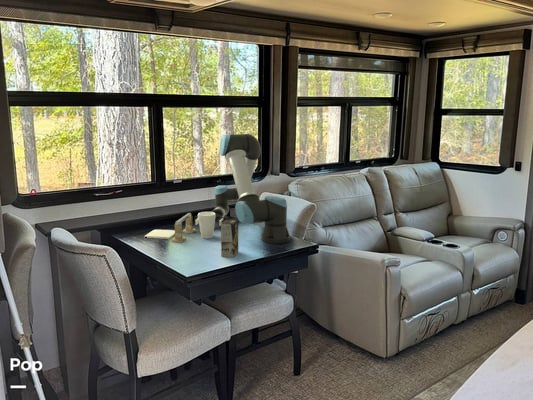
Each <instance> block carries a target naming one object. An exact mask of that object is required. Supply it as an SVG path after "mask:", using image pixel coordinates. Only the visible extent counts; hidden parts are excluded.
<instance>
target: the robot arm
mask: <svg viewBox="0 0 533 400" xmlns="http://www.w3.org/2000/svg"><path fill="white" fill-rule="evenodd" d="M261 151H262V150H261V144H260V142H259V140H258V138H257V137H255V136H254V135H253V134H249V133H239V134H237V133H236V134H235V133H234V134H231V133H228V134H222V136H221V137H220V141H219V155H220V156H222V157H224V158H225V160H226V161H227V162H229V165H230V169H231V173H232V176H233V180H234V183H235V188H232V187H230V188H228V186H227V185H223V184H222V185H217V186H215V190H214V191H215V192H214V196H215V203H214V204H215V208H214V209H213V210H211V212H214V213H215V214H216V218H215V223H218V222H219V223H218V224H219V225H218V226H219V227H221V223H223V222H224V221H225V220H230V218H229V216H227V215H228V214H229V212H230V207H229V206H228V203H229V201H231V202H232V201H237V202H236V203H235V206H234V208H235V214H236V217H237V220H238V222H240V223H241V224H243V225H251V224H258V223H264V227H263V230H262V233H261V241H262V242H264V243H268V244H284V243H288V242H289V241H290V240H291V238H290V237H291V235H290V233H289V230H288V227H287V225H288V223H287V222H288V221H287V219H288V218H287V217H288V215H287V214H288V213H287V212H288V202H287V200H286V199H285V198H284V197H279V196H272V195H268V196H267V195H266V196H264V199H260V196H259V194H257V193H256V192H255V190H254V186H253V182H252V178H253V174H254V171H255V167H256V164H257V160H259V158H260V157H261ZM193 219H194V223H195V224H194V225H195V226H197V225H199V219H198V215H197V216H196V215H195V216H194V217H193Z"/></svg>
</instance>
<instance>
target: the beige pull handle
mask: <svg viewBox="0 0 533 400" xmlns="http://www.w3.org/2000/svg"><path fill="white" fill-rule="evenodd" d="M174 230H175V235H174V236H173V237H172V238H171V242H174V243H175V242H177V243H183V242H185V241H186V239H187V238H186V236H185V237H183V233H184V234H194V233H195V232H196V228H193V215H191V216H190V217H189V218H187V219H186V220H185V228H184V229H183V222H182V223H180V224H179V225H176V223H174Z"/></svg>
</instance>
